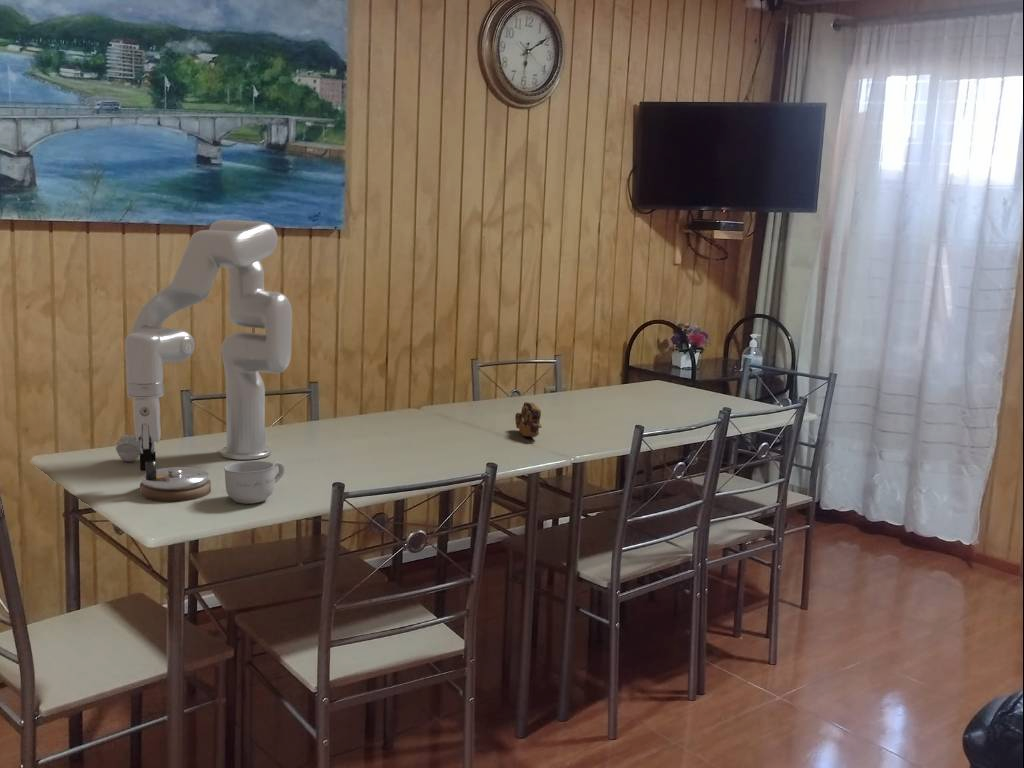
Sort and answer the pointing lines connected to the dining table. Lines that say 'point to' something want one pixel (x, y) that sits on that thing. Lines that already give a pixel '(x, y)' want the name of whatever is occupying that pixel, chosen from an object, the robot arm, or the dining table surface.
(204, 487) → the plinth
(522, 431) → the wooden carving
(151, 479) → the handwheel
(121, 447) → the grey lumpy ball
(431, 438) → the dining table surface
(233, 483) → the teacup
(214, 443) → the dining table surface
